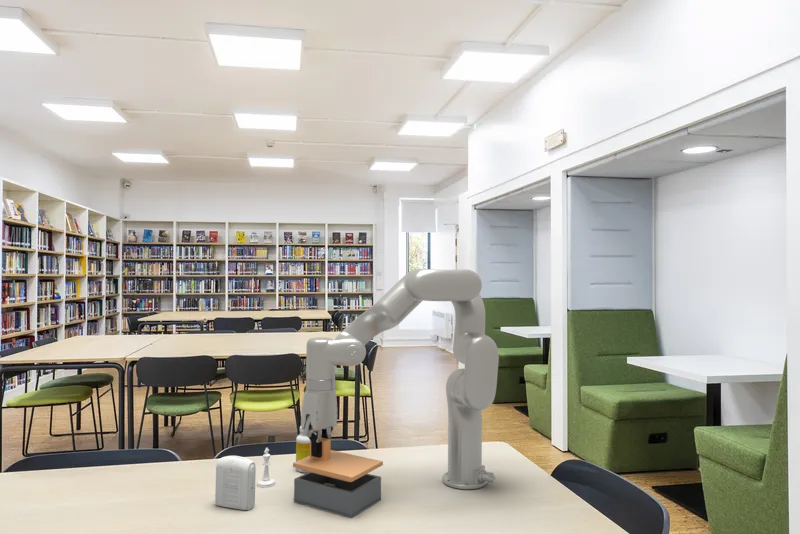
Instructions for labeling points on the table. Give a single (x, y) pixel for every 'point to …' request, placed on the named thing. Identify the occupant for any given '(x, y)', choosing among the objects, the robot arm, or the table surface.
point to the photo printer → (235, 482)
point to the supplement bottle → (302, 448)
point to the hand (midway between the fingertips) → (320, 454)
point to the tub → (337, 493)
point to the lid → (337, 464)
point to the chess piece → (266, 472)
